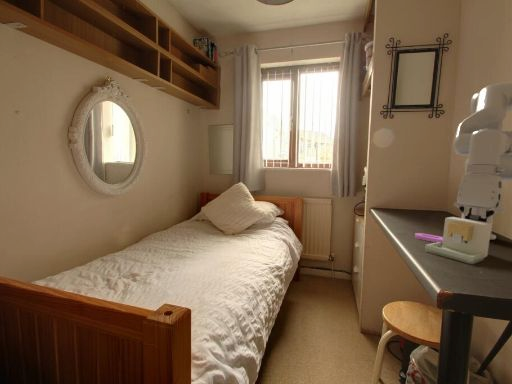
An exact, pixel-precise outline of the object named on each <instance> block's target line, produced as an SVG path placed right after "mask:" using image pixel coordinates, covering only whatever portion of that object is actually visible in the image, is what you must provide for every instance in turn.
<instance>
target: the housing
mask: <svg viewBox="0 0 512 384" xmlns="http://www.w3.org/2000/svg"><path fill="white" fill-rule="evenodd" d="M451 222H457V223H462V224H468V225H473V226H474V227H473V235H472V240H468V242H466V243H462V244H460V243H456V242H452V237H447V234H448V226H449V223H451ZM491 225H492V226H493V223H487V222H481V221H475V220H469V219H463V218H461V217H456V216H449V217H445V219H444V225H443V233H442V234H443V235H442V237H443V242H442V244H441V246H442V247H446V248H450V249H454V250H458V251H462V252H466V253H470V254H473V255H475V254H478V253H481V252H482V253H485V257H484V258H487V257H488V253H489V246H490V232H491V233H492V230H491Z"/></svg>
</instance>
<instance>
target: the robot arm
mask: <svg viewBox="0 0 512 384" xmlns="http://www.w3.org/2000/svg"><path fill="white" fill-rule="evenodd" d="M470 100H471V101H470V116H468V117H466V118H465V119H463V121H462V122H460V123H459V125H458V126H457V128H456V129H455V130H456V131H455V134H454V139H453V144H452V149H453V152H454V153H455V154H456V155H457V156H463V157H464V156H465V157H466V156H467V159H466V160H465V162H464V174H463V175H462V178H461V180H460V184H459V187H458V192H457V198H456V199H455V201H454V202H453V204H452V205H453V207H454V208H457V209H459V210H460V212H461V217H460V218H463V219H469V218H470V215H479V216H480V218H478V221H481V222H487V223H492V225H491V232H490V240H491V241H492V240H493V241H494V240H496V239H497V235H496V234H493V233H492V230H493V222H494V215H495V214H501V213H504V211H505V210H504V208H503V207H504V206H503V205H502V197H503V183H502V182H512V130H504V122H503V121H504V120H505V119H506V117H507V111H511V110H512V81H509V82H506V81H505V82H499V83H493V84H489V85H487V86H485V87H483V88H482V89H481V90H480V91H478V92H477V93H474V95H473V96H472V97H471V99H470ZM490 240H489V241H490Z"/></svg>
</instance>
